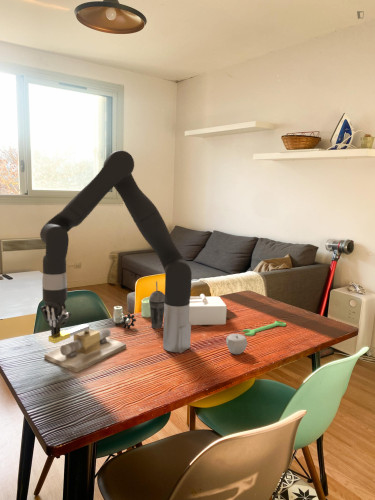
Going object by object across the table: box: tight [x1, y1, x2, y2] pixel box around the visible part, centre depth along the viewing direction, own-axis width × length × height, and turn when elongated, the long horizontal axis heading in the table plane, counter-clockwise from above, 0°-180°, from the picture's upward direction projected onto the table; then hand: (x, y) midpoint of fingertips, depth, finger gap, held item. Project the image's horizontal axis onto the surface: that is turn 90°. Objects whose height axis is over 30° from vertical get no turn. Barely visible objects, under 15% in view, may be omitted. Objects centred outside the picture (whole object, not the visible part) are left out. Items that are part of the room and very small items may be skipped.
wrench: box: [242, 320, 287, 337], centre depth 161 cm, size 25×2×5 cm
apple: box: [225, 333, 248, 355], centre depth 136 cm, size 8×8×7 cm
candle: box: [141, 296, 151, 318], centre depth 171 cm, size 5×5×8 cm
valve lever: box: [48, 323, 90, 344], centre depth 125 cm, size 15×3×3 cm, turn 147°
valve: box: [112, 305, 137, 330], centre depth 159 cm, size 7×7×12 cm
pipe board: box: [43, 327, 127, 373], centre depth 131 cm, size 16×23×8 cm
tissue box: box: [189, 293, 227, 326], centre depth 169 cm, size 14×25×11 cm, turn 99°
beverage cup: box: [149, 280, 165, 330], centre depth 157 cm, size 7×7×20 cm
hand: (55, 336), depth 123 cm, fingers closed
